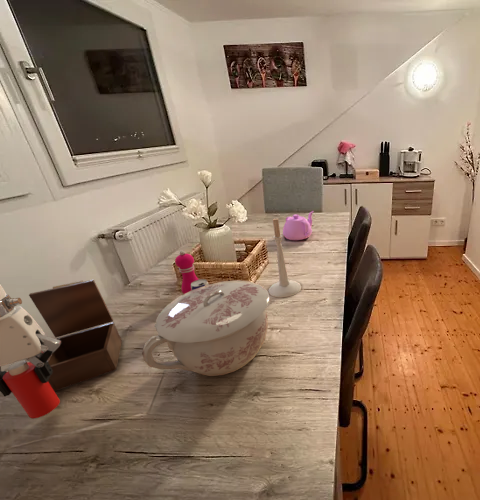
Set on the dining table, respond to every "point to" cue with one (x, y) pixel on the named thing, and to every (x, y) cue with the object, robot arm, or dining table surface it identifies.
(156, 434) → the dining table surface
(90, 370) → the chest
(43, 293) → the lid
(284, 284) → the candlestick
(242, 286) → the chamber pot
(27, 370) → the ketchup bottle
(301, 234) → the teapot
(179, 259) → the pepper mill
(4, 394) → the robot arm
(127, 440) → the dining table surface
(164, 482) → the dining table surface
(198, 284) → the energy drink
